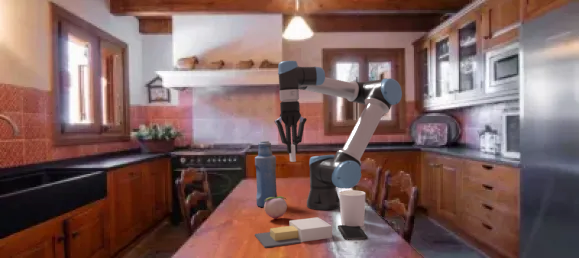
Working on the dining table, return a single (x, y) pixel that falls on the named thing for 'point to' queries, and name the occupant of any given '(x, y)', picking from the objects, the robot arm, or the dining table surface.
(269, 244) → the dark grey mat
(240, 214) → the dining table surface
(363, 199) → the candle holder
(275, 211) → the decorative fruit
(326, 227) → the white stand
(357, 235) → the phone
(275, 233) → the ochre tile
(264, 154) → the bottle
